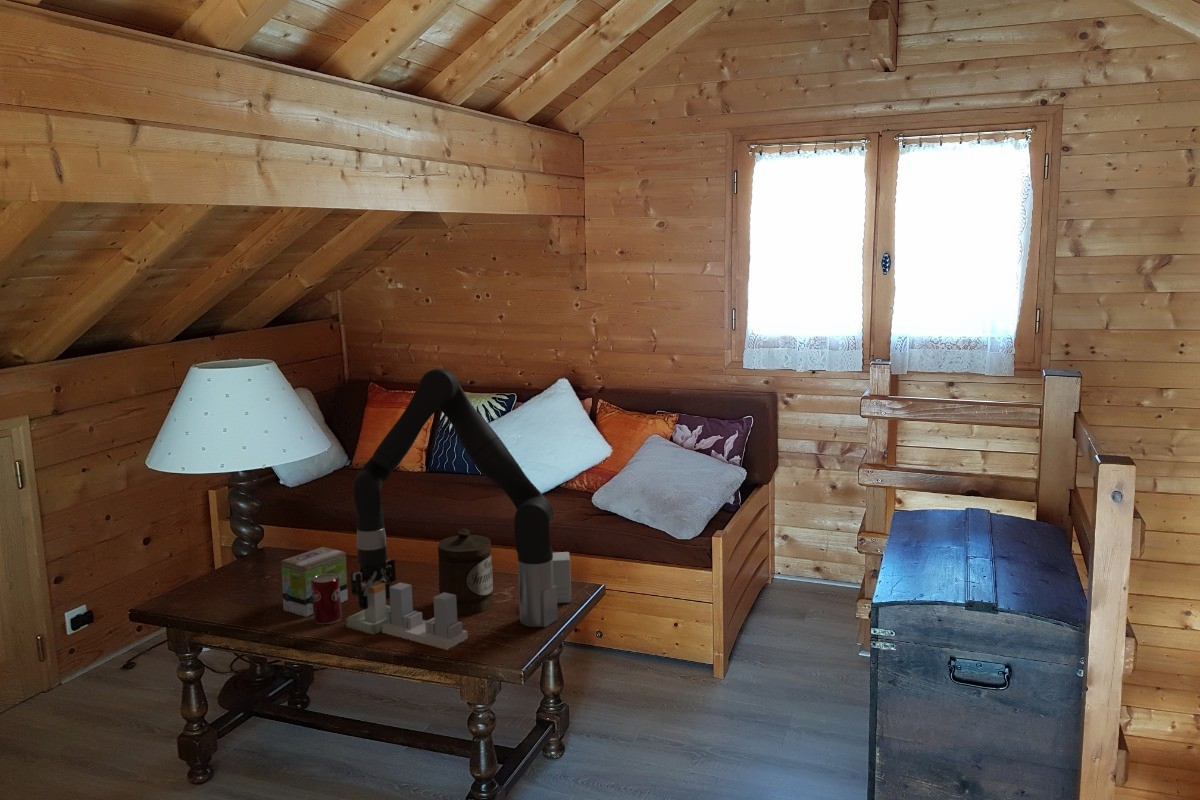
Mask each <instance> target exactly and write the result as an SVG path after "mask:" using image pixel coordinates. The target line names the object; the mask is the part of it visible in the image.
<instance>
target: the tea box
mask: <svg viewBox="0 0 1200 800" xmlns="http://www.w3.org/2000/svg"><path fill="white" fill-rule="evenodd" d="M346 555H347V552H345V551H342V550H339V549H333V548H330V547H329V548H328V547H325V546H322V547H319V548H315V549H312V550H309V551H306V552H303V553H301V554H297V555H295V556H291V557H288V558H284V559H282V560H281V561H280V562H281V563H280V565H281V566H280V567H281V582H282V583H281V584H282V603H283V607H282V608H283V611H285V612H288V611H289V613H291V612H292V614H294V613H295V615H298V616H301V615H302V617H305V618H307V617H309V616H311V615H313V602H312V588H311V580H312V579H313V578H314V577H315V576H317V575H321V574H335V575H337V576H338V577H339V582H340V598H341V604H342V603H344V601H345V602H347V601H348V600H349V596H348V594H349V592H348V575H347V573H348V572H347V556H346ZM346 600H347V601H346Z"/></svg>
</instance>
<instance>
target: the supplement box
mask: <svg viewBox="0 0 1200 800" xmlns="http://www.w3.org/2000/svg"><path fill="white" fill-rule="evenodd" d="M570 556H571V555H570V552H569V551H563V552H562V551H560V552H559V551H558V552H553V585H555V586H557V604H561V603H562V604H563V603H564V604H566V603H571V602H572V583H571V581H572V579H571V577H572V576H571V558H570Z"/></svg>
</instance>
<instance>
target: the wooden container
mask: <svg viewBox="0 0 1200 800" xmlns="http://www.w3.org/2000/svg"><path fill="white" fill-rule="evenodd" d="M437 545H438V547H437V552H438V553H437V554H438V590H439V594H442V593H444V592H445V593H449V594H454V595H456V602H457V615H472V614H477V613H481V612H483V611H486V610H488V609H490V608H492V606H493V605H494V585H493V584H494V582H493V581H494V580H493V576H494V575H493V564H492V563H493V561H492V560H493V559H492V541H491V539H490V538H489V537H486V536H483V535H478V534H477V535H476V534H471V530H470V529H468V528H460V529H459V530H458V531H457V535H454V536H450V537H445V538H443V539H441V540H440V541H439V542H438V544H437Z"/></svg>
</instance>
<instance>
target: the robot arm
mask: <svg viewBox="0 0 1200 800" xmlns="http://www.w3.org/2000/svg"><path fill="white" fill-rule="evenodd" d="M437 410H439V411H441V412H442V413H443V414H444V416H445V417H446V418H447V420H448V421H449V422H450V423H451V425H452V426H453V429H454V431H455V432H456V435H457V438H458V440H459V442H460V443H461V445H462V447H463V449H464V451H465V453H466V454H467V456H468V457H469V458H470V460H471V462H472V463H473V464H474V466H476V468H477V469H478V471H480V472H481V473H482V475H484V476H485V477H486V478H487V479H489V480H490V481H491V482H492V483H494V484H496V486H497V487H499V488H500V489H501V490H502V491H503V492H504V493H505V494H506V495H507V496H508V498H509V499H510V501H511V502H512V504H513V505H514V507H515V509H516V511H515V514H514V521H513V522H514V525H513V526H514V543H515V546H514V547H515V551H516V553H517V570H518V571H517V572H518V576H517V577H518V597H519V598H518V603H519V605H518V607H519V623H520V624H522V625H523V626H526V627H529V628H530V627H532V628H539V627H541V628H547V627H548V626H549V625H551V624H553V623H555V622H556V621H558V619H559V617H558V616H559V615H558V603H557V586H555V585H553V553H554V552H553V548H552V546H551V533H550V530H551V529H550V525H551V523H552V522H553V519H554V508H553V506H552V504H551V503H550V501H549V500H548V499H547V497H545V496H544V494H543V493H542V492H541V491H540V490H539V489H538V488H537V486H535V484H533V482H532V481H531V480H530V479H529V477H527V475H526V474H525V472H524V471H523V469H522V468H521V466H520V465H519V463H518V462H517V460H516V459H515V458H514V456H513V455H512V454H511V452H510V450H509V449H508V448H507V446H506V444H505V443H504V442H503V441H502V439H501V438H500V437H499V435H498V434H497V433H496V432H495V430H494V429H493V428H492V427H491V426H490V423H488V422H487V420H486V419H485V418H484V417H483V416H482V415H481V414H480V412H479V411H477V409H476V408H475V407H474V405H473V404H472V403H471V401H470V400H469V397H468V396H467V395H466V393H465V391H464V390H463V388H462V386H461V385H460V383H459V380H458V379H457V377H456V376H455V374H454V373H452V372H451V371H450V370H448V369H444V368H435V369H434V368H433V369H431V370H429V371H427V372H426V373H424V374H423V375H422V377H421V379H420V382H419V383H418V386H417V388H416V390H415V391H414V394H413V396H412V397H411V400H410V401H409V403H408V405H407V406H406V408H405V410H404V411H403V412H402V414H401V415H400V417H399V418H398V420H397V421H396V423H395V424H394V425H393V426H392V427H391V429H390V430H389V431H388V433H387V434H386V435H385V436H384V437H383V439H382V441H381V443H379V445H378V446H377V447H376V448H375V451H374V453H373V454H372V456H371V457H370V458H369V459H368V461H367V462H366V463H365V464H364V466H363V467H362V468H361V469H360V471H359V472H358V473H357V475H356V477H355V479H354V480H353V483H352V493H353V501H354V506H355V510H356V515H355V517H356V518H355V519H356V547H357V548H356V551H357V552H356V553H357V562H358V564H359V566H360V569H359V571H357V572H354V571H353V572H351V573H350V586H351V587H350V588H351V595H353V596H357V597H358V607H359V608H360V609H361V610H364V609H367V608H368V599H367V592H368V590H369V588H371V586H372V584H373V583H375V582H376V581H377V582H382V583H385V594H386V600H390V589H389V587H391V585H392V583H393V582H396V580H397V575H396V562H395V559H392V558H388V550H387V533H386V529H385V518H384V509H383V507H382V493H381V492H382V488H383V485H384V484H385V482H386V480H387V479H388V478H389V476H390V475H391V473H392V472H393V471H394V470H395V469H396V468H397V467H398V466H399V465H400V463H401V462H402V461H403V459H404V458H405V457H406V455H407V454H408V452H409V451H410V450H411V449H412V446H413V444H414V443H415V442H416V439H417V438H418V436H419V435H420V433H421V431H422V429H423V427H424V426H425V424H426V423H427V422H428V421H429V419H430V418H431V417H432V416H433V415H434V413H436V412H437ZM365 582H366V583H365ZM364 587H365V588H364ZM363 588H364V590H363Z"/></svg>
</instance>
